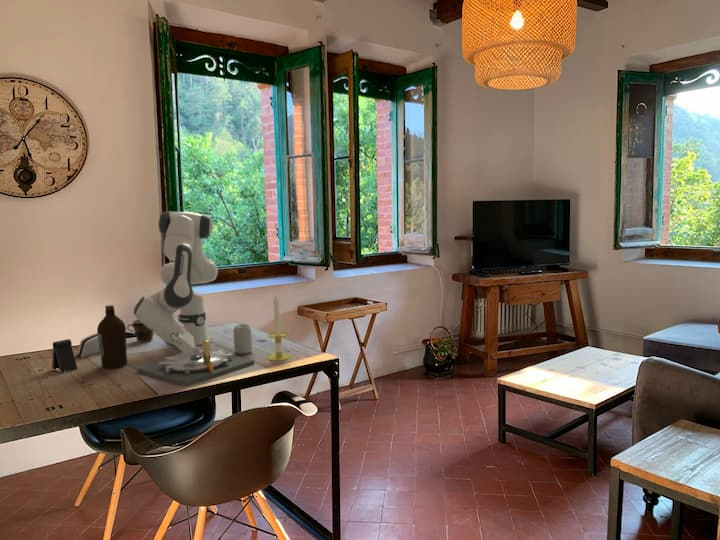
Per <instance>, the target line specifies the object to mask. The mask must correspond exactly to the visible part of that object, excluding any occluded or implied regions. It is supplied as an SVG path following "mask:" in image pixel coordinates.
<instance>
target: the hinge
mask: <svg viewBox="0 0 720 540" xmlns="http://www.w3.org/2000/svg"><path fill="white" fill-rule="evenodd" d="M98 353H99V354H100V347H99V340H98V334H97V332H96V333H92V334H90V335H88V336H86V337H84V338H82V339H81V340H80V343H79V346H78V350H77V352H75V355H74V357H78V356H80V358H85V357H89V356H92V355H95V354H98Z"/></svg>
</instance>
